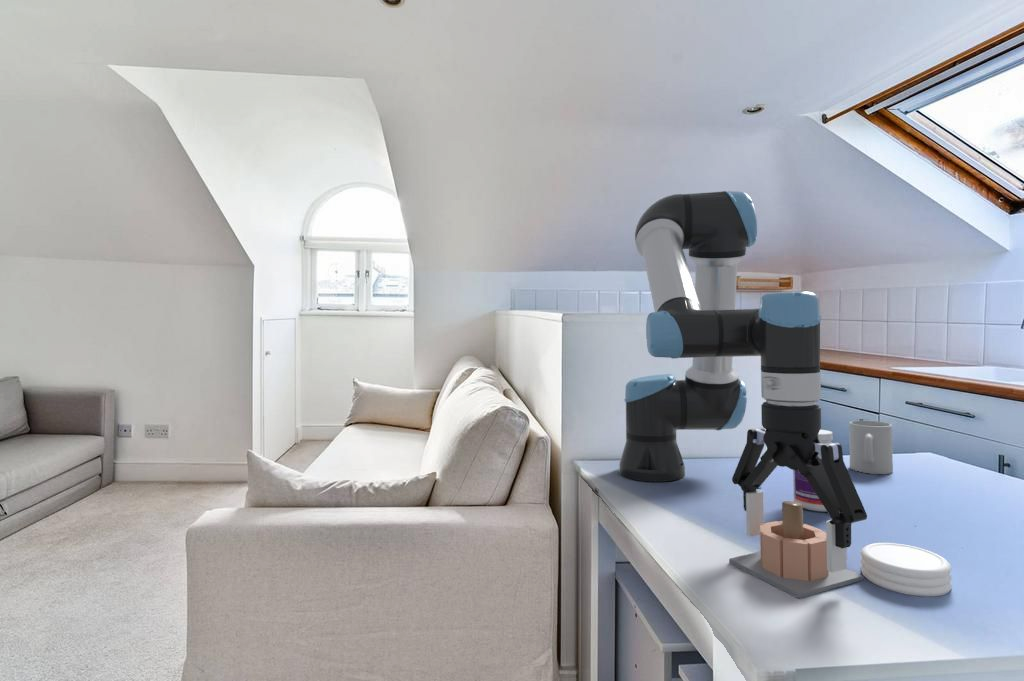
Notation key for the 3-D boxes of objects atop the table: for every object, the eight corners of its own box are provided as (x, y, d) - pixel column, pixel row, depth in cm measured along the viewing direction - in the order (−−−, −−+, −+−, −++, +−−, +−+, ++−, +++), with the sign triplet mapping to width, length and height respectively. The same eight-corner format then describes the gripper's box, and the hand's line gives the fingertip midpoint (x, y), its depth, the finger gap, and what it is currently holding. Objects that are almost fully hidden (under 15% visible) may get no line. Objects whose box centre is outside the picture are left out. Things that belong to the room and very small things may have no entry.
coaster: (971, 592, 71) (971, 565, 71) (908, 603, 69) (908, 575, 69) (900, 561, 81) (900, 538, 81) (844, 570, 79) (843, 545, 79)
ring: (747, 561, 81) (747, 527, 81) (790, 550, 84) (789, 518, 84) (796, 585, 73) (796, 547, 73) (841, 572, 76) (840, 536, 76)
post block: (729, 562, 82) (728, 498, 82) (789, 548, 86) (788, 487, 86) (798, 598, 71) (797, 524, 71) (863, 580, 75) (862, 510, 75)
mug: (851, 463, 136) (850, 419, 136) (893, 468, 131) (892, 422, 131) (846, 475, 126) (846, 427, 126) (892, 480, 121) (891, 430, 121)
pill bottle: (849, 514, 101) (847, 435, 100) (801, 513, 102) (799, 435, 102) (832, 500, 109) (831, 427, 108) (788, 499, 110) (787, 427, 110)
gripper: (707, 394, 88) (709, 526, 89) (856, 416, 65) (858, 594, 66) (743, 391, 91) (745, 519, 92) (898, 411, 68) (900, 581, 68)
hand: (792, 550), depth 79 cm, fingers open, 13 cm apart
